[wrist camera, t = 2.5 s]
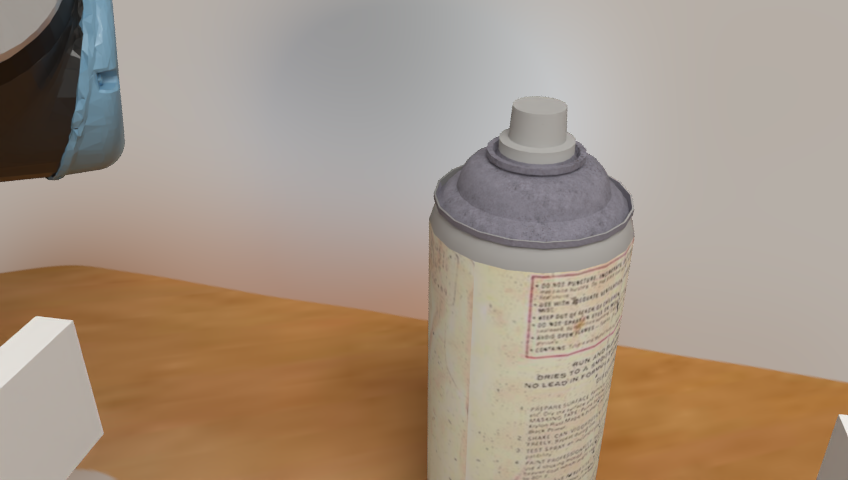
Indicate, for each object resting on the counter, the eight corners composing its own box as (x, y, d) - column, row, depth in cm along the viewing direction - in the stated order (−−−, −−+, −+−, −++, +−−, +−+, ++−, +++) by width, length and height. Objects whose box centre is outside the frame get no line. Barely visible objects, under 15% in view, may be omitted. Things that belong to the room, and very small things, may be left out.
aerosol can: (511, 459, 37) (544, 61, 28) (616, 556, 32) (701, 114, 23) (397, 524, 34) (388, 96, 24) (494, 643, 29) (533, 167, 19)
